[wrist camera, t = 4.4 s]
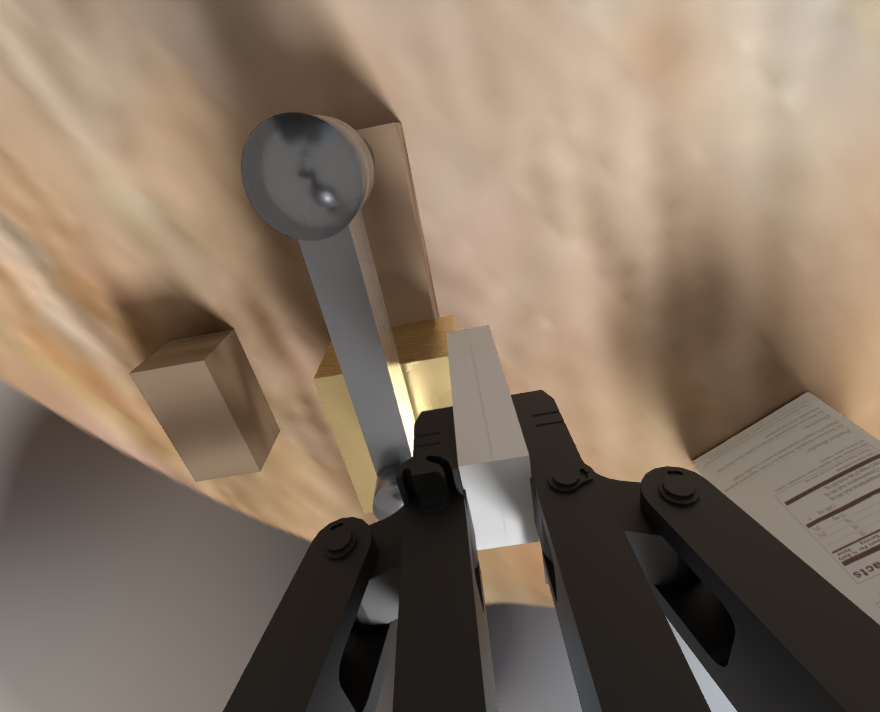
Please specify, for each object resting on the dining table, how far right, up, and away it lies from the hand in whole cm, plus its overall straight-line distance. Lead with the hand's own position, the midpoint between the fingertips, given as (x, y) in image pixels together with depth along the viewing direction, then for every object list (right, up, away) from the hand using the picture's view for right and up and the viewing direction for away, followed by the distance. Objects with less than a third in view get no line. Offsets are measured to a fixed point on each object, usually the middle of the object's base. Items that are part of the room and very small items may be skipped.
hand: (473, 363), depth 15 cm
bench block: (-15, -2, +13) cm, 20 cm away
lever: (-4, +1, +1) cm, 4 cm away
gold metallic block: (-3, -2, +7) cm, 8 cm away
